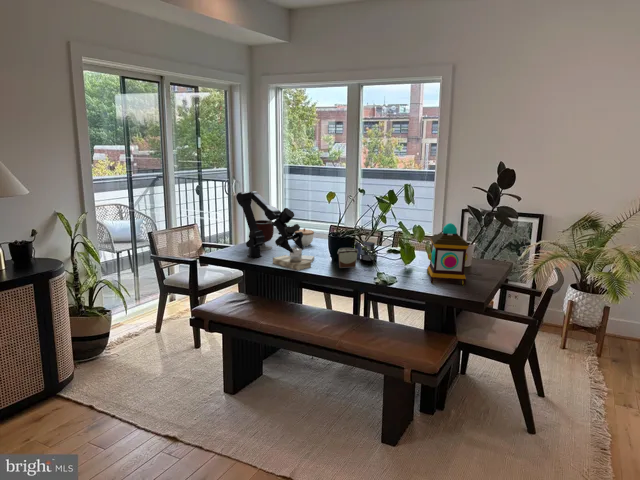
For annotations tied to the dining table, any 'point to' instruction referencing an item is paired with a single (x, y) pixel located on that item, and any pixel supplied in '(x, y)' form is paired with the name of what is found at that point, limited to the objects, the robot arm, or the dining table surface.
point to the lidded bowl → (307, 236)
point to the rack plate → (286, 262)
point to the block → (308, 258)
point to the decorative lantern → (447, 255)
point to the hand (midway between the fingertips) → (297, 250)
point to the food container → (347, 257)
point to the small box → (358, 246)
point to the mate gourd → (265, 232)
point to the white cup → (296, 255)
